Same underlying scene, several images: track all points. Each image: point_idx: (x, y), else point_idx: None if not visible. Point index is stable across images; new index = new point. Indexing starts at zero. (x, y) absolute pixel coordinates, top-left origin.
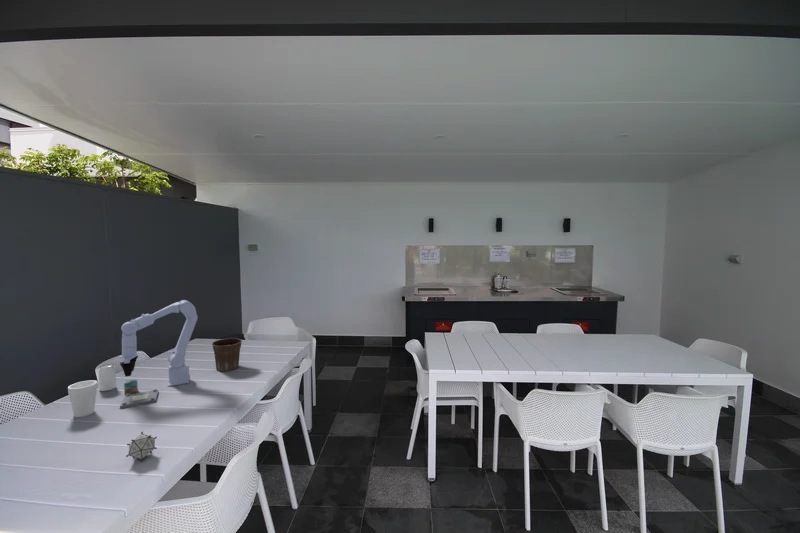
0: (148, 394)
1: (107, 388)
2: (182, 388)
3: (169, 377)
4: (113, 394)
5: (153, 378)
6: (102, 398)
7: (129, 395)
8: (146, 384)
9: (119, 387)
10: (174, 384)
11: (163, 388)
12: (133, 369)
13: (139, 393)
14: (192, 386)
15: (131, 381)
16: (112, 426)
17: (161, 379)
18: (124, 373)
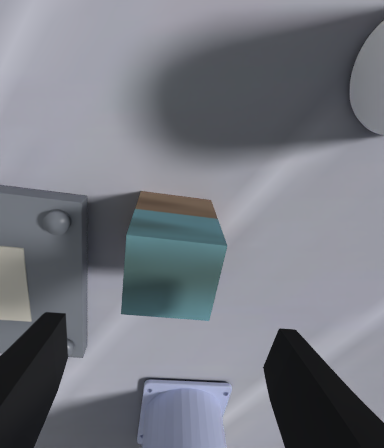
0: (10, 320)
1: (362, 71)
2: (74, 419)
3: (170, 431)
4: (220, 118)
5: (358, 327)
6: (175, 34)
7: (49, 227)
8: (274, 298)
9: (359, 157)
10: (142, 404)
11: (131, 362)
12: (268, 387)
13: (64, 278)
14: (79, 445)
15: (153, 286)
16: None
17: None
18: (8, 348)
